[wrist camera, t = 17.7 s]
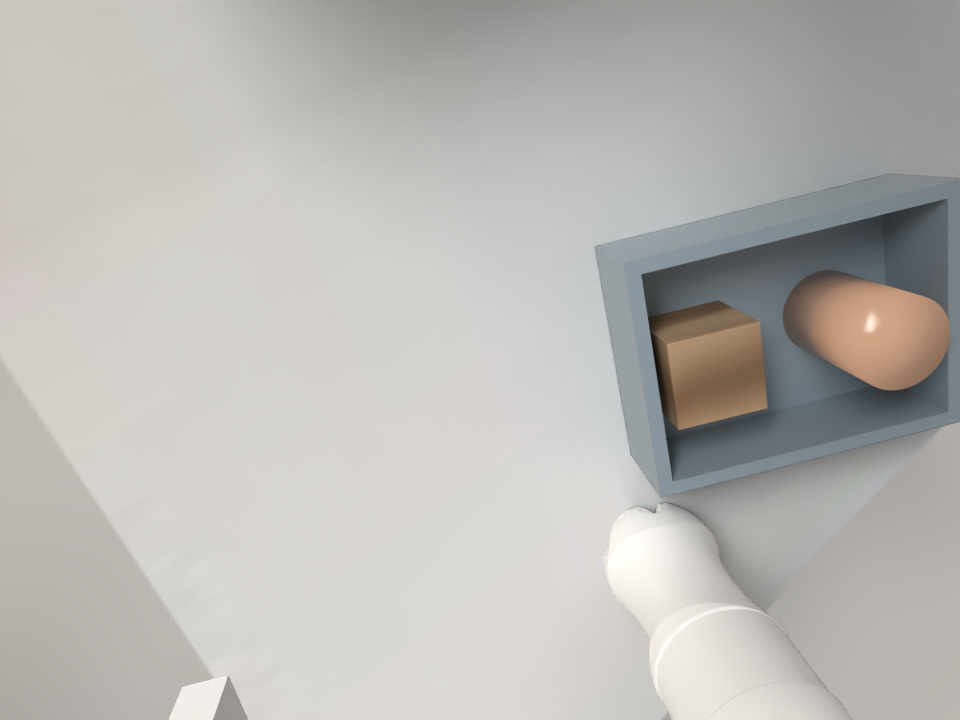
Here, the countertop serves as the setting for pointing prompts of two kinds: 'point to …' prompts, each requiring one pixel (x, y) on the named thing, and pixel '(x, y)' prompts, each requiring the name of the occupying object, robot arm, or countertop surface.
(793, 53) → the countertop surface
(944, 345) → the capsule
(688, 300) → the tote
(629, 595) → the water bottle
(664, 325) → the cube
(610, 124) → the countertop surface
